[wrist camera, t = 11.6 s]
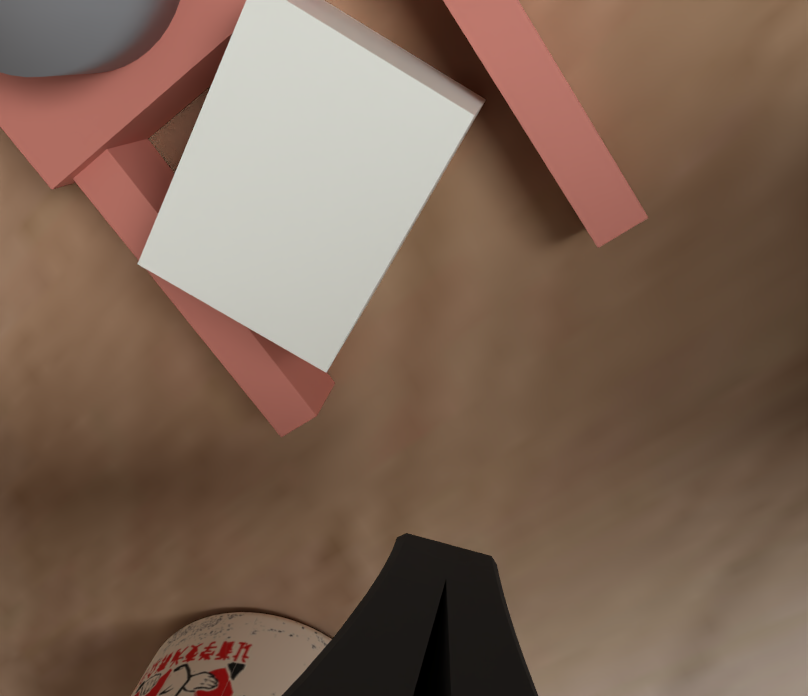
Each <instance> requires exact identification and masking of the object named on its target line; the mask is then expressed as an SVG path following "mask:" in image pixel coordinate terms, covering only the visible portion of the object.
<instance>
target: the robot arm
mask: <svg viewBox="0 0 808 696" xmlns="http://www.w3.org/2000/svg"><path fill="white" fill-rule="evenodd" d="M281 696H538V694H537V691H536V689H535V686H534V683H533V681H532V678H531V675H530V673H529V670H528V667H527V665H526V662H525V659H524V657H523V654H522V651H521V648H520V645H519V642H518V639H517V636H516V633H515V630H514V627H513V624H512V621H511V617H510V614H509V611H508V608H507V604H506V601H505V597H504V593H503V590H502V586H501V582H500V577H499V573H498V568H497V564H496V563H495V561H494V559H493V558H492V556H489V555H485V554H482V553H478V552H474V551H471V550H467V549H463V548H460V547H456V546H452V545H448V544H445V543H441V542H437V541H434V540H430V539H426V538H422V537H419V536H415V535H411V534H408V533H406V534H404V535H402V536H399V537H397V539H396V542H395V545H394V547H393V550H392V552H391V554H390V556H389V558H388V560H387V562H386V564H385V565H384V567H383V569H382V571H381V572H380V574H379V575H378V577H377V579H376V580H375V582H374V583H373V585H372V586H371V588H370V589H369V591H368V592H367V594H366V595H365V597H364V598H363V599H362V601H361V602H360V603H359V605H358V606H357V607H356V609H355V610H354V611H353V613H352V614H351V615H350V617H349V618H348V619H347V621H346V622H345V623H344V625H343V626H342V627H341V629H340V630H339V631H338V632H337V634H336V635H335V636H334V637H333V639H332V640H331V641H330V642H329V643H328V644H327V645H326V647H325V648H324V649H323V650H322V651H321V652H320V654H319V655H318V656H317V657H316V658H315V659H314V660H313V662H312V663H311V664H310V665H309V666H308V667H307V669H306V670H305V671H304V672H303V673H302V674H301V675H300V676H299V678H298V679H297V680H296V681H295V682H294V683H293V684H292V685H291V686H290V687H289V688H288V689H287V690H286V691H285V692H284V693H283V694H282V695H281Z"/></svg>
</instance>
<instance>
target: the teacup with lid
mask: <svg viewBox="0 0 808 696" xmlns="http://www.w3.org/2000/svg"><path fill="white" fill-rule="evenodd" d="M331 640H332V639H331V638H329V637H328V636H326V635H324V634H323V633H321V632H319V631H317V630H315V629H313V628H311V627H309V626H306V625H304V624H301V623H299V622H296V621H293V620H290V619H287V618H283V617H279V616H275V615H269V614H263V613H253V612H235V613H224V614H219V615H213V616H210V617H206V618H203V619H200V620H197V621H195V622H193V623H191V624H189V625H187V626H185V627H183V628H182V629H180V630H179V631H177V632H176V633H174V634H173V635H172V636H171V637H170V638H169V639H167V641H166V642H165V643H164V644H163V645H162V646H161V647H160V649H159V650H158V652H157V653H156V655H155V656H154V658H153V659H152V661H151V663H150V664H149V666H148V668H147V669H146V671H145V673H144V674H143V676H142V678H141V679H140V681H139V683H138V684H137V686H136V688H135V689H134V691H133V693H132V694H131V696H281V695H282V694H283V693H284V692H285V691H286V690H287V689H288V688H289V687H290V686H291V685H292V684H293V683H294V682H295V681H296V680H297V679H298V678H299V676H300V675H301V674H302V673H303V672H304V671H305V670H306V669H307V667H308V666H309V665H310V664H311V663H312V662H313V660H314V659H315V658H316V657H317V656H318V655H319V654H320V652H321V651H322V650H323V649H324V648H325V647H326V645H327V644H328V643H329V642H330V641H331Z"/></svg>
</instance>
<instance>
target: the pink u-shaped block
mask: <svg viewBox="0 0 808 696" xmlns="http://www.w3.org/2000/svg"><path fill="white" fill-rule="evenodd" d="M443 1H444V3H445V4H446V6H447V7H448V9H449V11H450V12H451V14H452V15H453V17H454V19H455V20H456V22H457V23H458V25H459V27H460V28H461V30H462V31H463V33H464V35H465V36H466V38H467V39H468V41H469V43H470V44H471V46H472V47H473V49H474V51H475V52H476V54H477V55H478V57H479V59H480V60H481V62H482V63H483V65H484V67H485V68H486V70H487V71H488V73H489V74H490V76H491V78H492V79H493V81H494V82H495V84H496V86H497V87H498V89H499V90H500V92H501V94H502V95H503V97H504V98H505V100H506V102H507V103H508V105H509V106H510V108H511V110H512V111H513V113H514V114H515V116H516V118H517V119H518V121H519V122H520V124H521V126H522V127H523V129H524V130H525V132H526V134H527V135H528V137H529V138H530V140H531V142H532V143H533V145H534V146H535V148H536V150H537V151H538V153H539V154H540V156H541V158H542V159H543V161H544V162H545V164H546V166H547V167H548V169H549V170H550V172H551V174H552V175H553V177H554V178H555V180H556V182H557V183H558V185H559V186H560V188H561V190H562V191H563V193H564V194H565V196H566V198H567V199H568V201H569V202H570V204H571V206H572V207H573V209H574V210H575V212H576V214H577V215H578V217H579V218H580V220H581V222H582V223H583V225H584V226H585V228H586V230H587V231H588V233H589V234H590V236H591V238H592V239H593V241H594V242H595V244H596V245H597V247H598V248H599V247H600V246H602V245H604V244H605V243H607V242H609V241H611V240H612V239H614V238H616V237H617V236H619V235H621V234H622V233H624V232H626V231H627V230H629V229H631V228H632V227H634V226H636V225H637V224H639V223H641V222H642V221H644V220H646V219H647V218H648V216H647V214H646V213H645V211H644V209H643V208H642V206H641V204H640V203H639V201H638V199H637V198H636V196H635V194H634V193H633V191H632V189H631V188H630V186H629V184H628V183H627V181H626V179H625V178H624V176H623V174H622V173H621V171H620V169H619V168H618V166H617V164H616V163H615V161H614V159H613V158H612V156H611V154H610V153H609V151H608V149H607V148H606V146H605V144H604V143H603V141H602V139H601V138H600V136H599V134H598V133H597V131H596V129H595V128H594V126H593V124H592V123H591V121H590V119H589V118H588V116H587V114H586V113H585V111H584V109H583V108H582V106H581V104H580V103H579V101H578V99H577V98H576V96H575V94H574V93H573V91H572V89H571V88H570V86H569V84H568V83H567V81H566V79H565V78H564V76H563V74H562V73H561V71H560V69H559V68H558V66H557V64H556V63H555V61H554V59H553V58H552V56H551V54H550V53H549V51H548V49H547V48H546V46H545V44H544V43H543V41H542V39H541V38H540V36H539V34H538V32H537V31H536V29H535V27H534V26H533V24H532V22H531V21H530V19H529V17H528V16H527V14H526V12H525V11H524V9H523V7H522V6H521V4H520V2H519V1H518V0H443ZM245 2H246V0H0V127H1V128H2V129H3V131H4V132H5V133H6V134H7V135H8V137H9V138H10V139H11V140H12V142H13V143H14V144H15V145H16V146H17V148H18V149H19V150H20V151H21V153H22V154H23V155H24V156H25V157H26V159H27V160H28V161H29V162H30V164H31V165H32V166H33V167H34V168H35V170H36V171H37V172H38V173H39V175H40V176H41V177H42V178H43V179H44V181H45V182H46V183H47V184H48V186H49V187H50V188H51V189H52V190H53V189H56V188H59V187H62V186H66V185H69V184H72V183H75V182H76V183H77V185H78V186H79V187H80V188H81V190H82V191H83V192H84V193H85V195H86V196H87V197H88V198H89V200H90V201H91V202H92V203H93V205H94V206H95V207H96V208H97V209H98V211H99V212H100V213H101V214H102V216H103V217H104V218H105V219H106V221H107V222H108V223H109V224H110V226H111V227H112V228H113V229H114V231H115V232H116V233H117V234H118V235H119V237H120V238H121V239H122V240H123V242H124V243H125V244H126V245H127V247H128V248H129V249H130V250H131V252H132V253H133V254H134V255H135V257H136V258H137V259H138V260H139V259H140V257H141V254H142V252H143V249H144V247H145V245H146V242H147V240H148V237H149V235H150V233H151V230H152V228H153V225H154V223H155V220H156V218H157V216H158V213H159V211H160V208H161V206H162V203H163V201H164V199H165V196H166V194H167V191H168V189H169V186H170V184H171V182H172V179H173V177H174V172H173V171H172V170H171V168H170V167H169V166H168V164H167V163H166V162H165V161H164V159H163V158H162V157H161V155H160V154H159V153H158V151H157V150H156V149H155V147H154V146H153V145H152V144H151V142H150V141H149V140H148V138H149V137H151V136H152V135H153V134H154V133H155V132H156V131H158V130H159V129H160V128H161V127H162V126H164V125H165V124H166V123H167V122H168V121H169V120H171V119H172V118H173V117H174V116H175V115H177V114H178V113H179V112H180V111H181V110H182V109H184V108H185V107H186V106H187V105H188V104H190V103H191V102H192V101H193V100H194V99H195V98H197V97H198V96H199V95H200V94H201V93H203V92H204V91H205V90H206V89H207V88H208V87H210V86H211V85H212V82H213V80H214V77H215V75H216V73H217V70H218V68H219V65H220V63H221V60H222V58H223V56H224V53H225V51H226V48H227V46H228V43H229V41H230V39H231V36H232V34H233V31H234V29H235V26H236V24H237V22H238V19H239V17H240V14H241V12H242V9H243V7H244V5H245ZM146 270H147V269H146ZM147 271H148V273H149V274H150V275H151V276H152V278H153V279H154V280H155V281H156V283H157V284H158V285H159V286H160V288H161V289H162V290H163V291H164V293H165V294H166V295H167V296H168V297H169V299H170V300H171V301H172V302H173V304H174V305H175V306H176V307H177V309H178V310H179V311H180V312H181V314H182V315H183V316H184V317H185V319H186V320H187V321H188V322H189V324H190V325H191V326H192V327H193V328H194V330H195V331H196V332H197V333H198V335H199V336H200V337H201V338H202V340H203V341H204V342H205V343H206V345H207V346H208V347H209V348H210V350H211V351H212V352H213V353H214V354H215V356H216V357H217V358H218V359H219V361H220V362H221V363H222V364H223V366H224V367H225V368H226V369H227V371H228V372H229V373H230V374H231V376H232V377H233V378H234V379H235V381H236V382H237V383H238V384H239V385H240V387H241V388H242V389H243V390H244V392H245V393H246V394H247V395H248V397H249V398H250V399H251V400H252V402H253V403H254V404H255V405H256V407H257V408H258V409H259V410H260V412H261V413H262V414H263V415H264V416H265V418H266V419H267V420H268V421H269V423H270V424H271V425H272V426H273V428H274V429H275V430H276V431H277V433H278V434H279V435H280V436H281V437H283V436H284V435H286V434H288V433H289V432H291V431H293V430H294V429H296V428H298V427H299V426H301V425H303V424H304V423H306V422H308V421H309V420H311V419H313V418H314V417H316V416H317V415H318V413H319V411H320V409H321V408H322V406H323V404H324V402H325V400H326V399H327V397H328V395H329V393H330V391H331V390H332V388H333V386H334V384H335V382H334V381H333V380H332V378H331V377H330V376H329V374H328V373H327V372H324V371H322V370H321V369H319V368H317V367H315V366H314V365H312V364H310V363H308V362H307V361H305V360H303V359H301V358H300V357H298V356H296V355H295V354H293V353H291V352H289V351H288V350H286V349H284V348H282V347H281V346H279V345H277V344H275V343H274V342H272V341H270V340H268V339H267V338H265V337H263V336H261V335H260V334H258V333H256V332H255V331H253V330H251V329H249V328H248V327H246V326H244V325H242V324H241V323H239V322H237V321H235V320H234V319H232V318H230V317H228V316H227V315H225V314H223V313H222V312H220V311H218V310H216V309H215V308H213V307H211V306H209V305H208V304H206V303H204V302H202V301H201V300H199V299H197V298H195V297H194V296H192V295H190V294H189V293H187V292H185V291H183V290H182V289H180V288H178V287H176V286H175V285H173V284H171V283H169V282H168V281H166V280H164V279H162V278H161V277H159V276H157V275H156V274H154V273H152V272H150V271H149V270H147Z"/></svg>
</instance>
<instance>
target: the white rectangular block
mask: <svg viewBox="0 0 808 696" xmlns="http://www.w3.org/2000/svg"><path fill="white" fill-rule="evenodd" d="M485 101H486V99H484V98H483V97H481V96H479V95H478V94H476V93H474V92H473V91H471V90H470V89H468V88H466V87H465V86H463V85H461V84H460V83H458V82H457V81H455V80H453V79H452V78H450V77H448V76H447V75H445V74H444V73H442V72H440V71H439V70H437V69H435V68H434V67H432V66H430V65H429V64H427V63H426V62H424V61H422V60H421V59H419V58H417V57H416V56H414V55H413V54H411V53H409V52H408V51H406V50H404V49H403V48H401V47H400V46H398V45H396V44H395V43H393V42H391V41H390V40H388V39H387V38H385V37H383V36H382V35H380V34H378V33H377V32H375V31H373V30H372V29H370V28H369V27H367V26H365V25H364V24H362V23H360V22H359V21H357V20H356V19H354V18H352V17H351V16H349V15H347V14H346V13H344V12H343V11H341V10H339V9H338V8H336V7H334V6H333V5H331V4H329V3H328V2H326V1H325V0H246V2H245V5H244V7H243V9H242V12H241V14H240V17H239V19H238V22H237V24H236V26H235V29H234V31H233V34H232V36H231V39H230V41H229V43H228V46H227V48H226V51H225V53H224V56H223V58H222V60H221V63H220V65H219V68H218V70H217V73H216V75H215V77H214V80H213V82H212V85H211V87H210V89H209V92H208V94H207V97H206V99H205V102H204V104H203V106H202V109H201V111H200V114H199V116H198V119H197V121H196V123H195V126H194V128H193V131H192V133H191V136H190V138H189V140H188V143H187V145H186V148H185V150H184V153H183V155H182V157H181V160H180V162H179V165H178V167H177V169H176V172H175V174H174V177H173V179H172V182H171V184H170V186H169V189H168V191H167V194H166V196H165V199H164V201H163V203H162V206H161V208H160V211H159V213H158V216H157V218H156V220H155V223H154V225H153V228H152V230H151V233H150V235H149V237H148V240H147V242H146V245H145V247H144V249H143V252H142V254H141V257H140V259H139V262H138V265H140V266H142V267H143V268H145V269H147V270H149V271H150V272H152V273H154V274H156V275H157V276H159V277H161V278H162V279H164V280H166V281H168V282H169V283H171V284H173V285H175V286H176V287H178V288H180V289H182V290H183V291H185V292H187V293H189V294H190V295H192V296H194V297H195V298H197V299H199V300H201V301H202V302H204V303H206V304H208V305H209V306H211V307H213V308H215V309H216V310H218V311H220V312H222V313H223V314H225V315H227V316H228V317H230V318H232V319H234V320H235V321H237V322H239V323H241V324H242V325H244V326H246V327H248V328H249V329H251V330H253V331H255V332H256V333H258V334H260V335H261V336H263V337H265V338H267V339H268V340H270V341H272V342H274V343H275V344H277V345H279V346H281V347H282V348H284V349H286V350H288V351H289V352H291V353H293V354H295V355H296V356H298V357H300V358H301V359H303V360H305V361H307V362H308V363H310V364H312V365H314V366H315V367H317V368H319V369H321V370H322V371H324V372H327V371H328V369H329V367H330V366H331V364H332V362H333V361H334V359H335V357H336V356H337V354H338V353H339V351H340V349H341V348H342V346H343V344H344V343H345V341H346V339H347V338H348V336H349V334H350V333H351V331H352V329H353V328H354V326H355V324H356V323H357V321H358V319H359V318H360V316H361V314H362V313H363V311H364V310H365V308H366V306H367V305H368V303H369V301H370V299H371V298H372V296H373V294H374V292H375V291H376V289H377V287H378V286H379V284H380V282H381V280H382V279H383V277H384V275H385V273H386V272H387V270H388V268H389V267H390V265H391V263H392V261H393V260H394V258H395V256H396V254H397V253H398V251H399V249H400V248H401V246H402V244H403V242H404V241H405V239H406V237H407V235H408V234H409V232H410V230H411V229H412V227H413V225H414V223H415V222H416V220H417V218H418V216H419V215H420V213H421V211H422V210H423V208H424V206H425V204H426V203H427V201H428V199H429V197H430V196H431V194H432V192H433V191H434V189H435V187H436V185H437V184H438V182H439V180H440V178H441V177H442V175H443V173H444V172H445V170H446V168H447V166H448V165H449V163H450V161H451V159H452V158H453V156H454V154H455V153H456V151H457V149H458V147H459V146H460V144H461V142H462V140H463V139H464V137H465V135H466V134H467V132H468V130H469V128H470V127H471V125H472V123H473V121H474V120H475V118H476V116H477V115H478V113H479V111H480V109H481V108H482V106H483V104H484V102H485Z"/></svg>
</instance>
